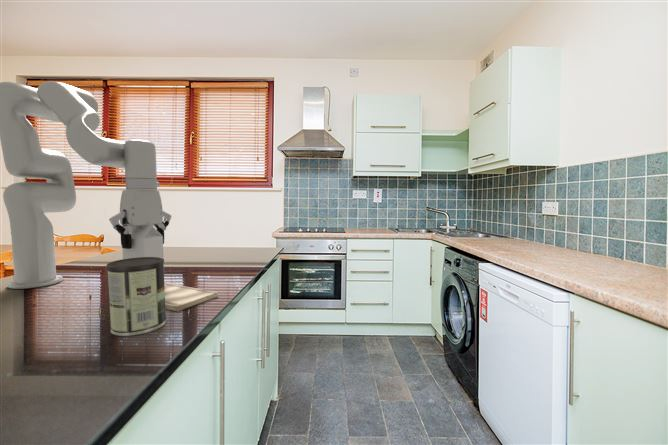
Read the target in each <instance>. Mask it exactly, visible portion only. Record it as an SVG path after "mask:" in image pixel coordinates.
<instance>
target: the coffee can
mask: <svg viewBox="0 0 668 445" xmlns="http://www.w3.org/2000/svg"><path fill="white" fill-rule="evenodd" d="M163 258H164V257H163ZM163 258H158V257H139V258H129V259H123V258H122V259H119V260H118V259H117V260H115V261H111V262H108V263H106V264H105V265H106V269H107V282H108V284H107V285H108V298H109V299H108V302H109V318H110V320H109V321H110V334H112V335H114V336H116V337H118V336H120V337H131V336H132V337H133V336H138V335H139V336H140V335H142V334H147V333H151V332H153V331H156V330H158V329H160V328H162V327H163V326H164V325H166V323H167V319H166V318H167V317H166V316H167V315H166V309H165V291H164V283H165V264H164V263H165V258H164V259H163ZM163 264H164V265H163Z"/></svg>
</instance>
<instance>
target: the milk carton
mask: <svg viewBox="0 0 668 445" xmlns="http://www.w3.org/2000/svg"><path fill="white" fill-rule="evenodd" d="M129 234H131V241H132V248H131V249H125V248H122V247H121V249H122V259H129V258H139V257H158V258H163V259H164V260H165V258H164V244H163V236H162V235H161V234H160V233H159V232H158V231H157V229H156V228H155V227H154V226H153V223H149V225H148V226H134V227H133V228H132V229H131V231H130V232H129ZM163 265H164V266H165V264H163Z"/></svg>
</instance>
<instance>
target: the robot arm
mask: <svg viewBox="0 0 668 445" xmlns="http://www.w3.org/2000/svg"><path fill="white" fill-rule="evenodd" d="M98 111H99V103H98V101H97V99H96V98H95V97H94V96H93V94H92V93H91V92H89V91H86V90H84V89H81V88H78V87H76V86H73V85H69V84H66V83H64V82H59V81H56V80H55V81H54V80H48V81H44V82H41V83H40V84H39V85H38V87H36V88H35V87H32V86H30V85H26V84H22V83H18V82H12V81H11V82H10V81H2V82H1V81H0V146H1V150H2V156H3V157H2V158H3V163H4V166H5V169H6V171H7V172H8V174H10V175H11V176H13V177H15V178H16V177H17V178H23V179H24V178H25V179H39V180H40V179H41V180H46V182H39V181H37V182H35V181H33V182H32V181H21V182H14V183H12V184H11V183H10V185H8V186H7V187H6V188H5V189H4V191H3V193H2V197H3V198H2V199H3V203H4V205H5V209H6V212H7V215H8V220H9V226H10V227H9V228H10V235H11V247H12V249H11V250H12V264H13V275H14V280H12V281H9V282H8V283H7V288H8V289H14V290H16V289H17V290H18V289H20V290H21V289H22V290H23V289H33V288H40V287H46V286H51V285H55V284H58V283H60V282H62V281H63V280H64V277H63V275H58V274H57V266H56V250H55V249H56V248H55V236H54V226H53V224H52V221H50V219H49V218H48V217H47V215H46V214H48V213H62V212H63V213H64V212H68V211H71V210H72V209H74V207H75V205H76V202H77V192H76V187H75V181H74V180H75V179H74V174H73V169H72V165H71V162H70V160H69V159H68V158H67V156H66V155H65V154H63V153H61V152H60V151H57V150H52V149H44V148H42V146H41V143H40V136H39V133H38V131H37V130H36V128H35V127H34V126H33V124H32V123H31V122H30V120H28V118H26V116H29V117H33V118H36V119H37V118H38V119H42V120H47V121H51V122H57V123H61V124H63V125H64V126H65V127H66V128H65V136H66V137H65V138H66V141H67V143H68V145H69V146H70V147H71V148H72V150H73V151H75V152H76V153H77V155H79V156H80V158H82V159H83V160H84V161H86V162H87V163H90V164H91V165H95V166H99V167H109V168H116V169H117V168H118V169H124V177H125V178H124V180H125V190H124V189H123V190H122V191H121V196H120V203H119V204H120V205H119V212H118V213H117V214H115V215H113V216H111V217H109V219H108V220H109V222H110V224H111V226H112V228H113V229H114V230H115V231H117V232H118V234H120V244H121V249H122V248H125V249H131V248H132V241H131V234H129V232H130V231H131V229H132V228H133V227H134V226H148V225H149V223H153V227H154V228H155V229H156V230H157V231H158V232H159V233H160V234H161V235H162V236H163V245H164V244H165V231H167V227H168V226H169V224H170V222H171V219H172V215H171V214H170V213H168V212H166V211H164V210H163V203H162V197H161V194H160V190H158V188H159V187H161V183H160V182H159V181H158V180H157V178H158V177H157V152H156V150H157V149H156V145H155V143H153V142H152V141H149V140H144V139H143V140H142V139H127V140H126V141H121V140H117V139H111V138H106V137H101V136H98V135H97V134H96V133H95V131H96V130H97V129H98V128H99V125H100V121H101V118H100V115H99V114H98Z"/></svg>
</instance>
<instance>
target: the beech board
mask: <svg viewBox="0 0 668 445" xmlns="http://www.w3.org/2000/svg"><path fill="white" fill-rule="evenodd" d="M164 291H165V310H169V311H174V312H180V311H182V310H185V309H188V308H191V307H194V306H195V305H196V306H197V305H199V304H201V303H204V302H206V301H210V300H212V299H214V298H217V297H218V296H219V293H218V291H213V290H208V289H203V288H196V287H190V286H185V285H180V284H173V283H167V282H164Z"/></svg>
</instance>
